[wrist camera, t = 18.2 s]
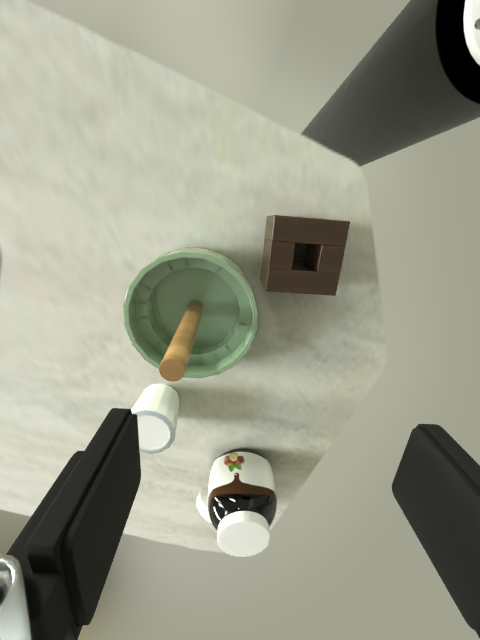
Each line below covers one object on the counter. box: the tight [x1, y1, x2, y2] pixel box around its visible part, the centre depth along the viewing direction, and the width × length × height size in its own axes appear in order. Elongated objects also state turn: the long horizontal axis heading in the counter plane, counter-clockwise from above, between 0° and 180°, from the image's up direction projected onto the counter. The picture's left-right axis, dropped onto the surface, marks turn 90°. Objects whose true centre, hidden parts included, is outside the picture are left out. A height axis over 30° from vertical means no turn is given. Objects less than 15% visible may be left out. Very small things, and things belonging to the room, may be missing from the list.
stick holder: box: [261, 215, 350, 296], centre depth 32 cm, size 8×8×6 cm
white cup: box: [131, 384, 180, 454], centre depth 38 cm, size 7×7×7 cm
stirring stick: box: [159, 301, 203, 381], centre depth 29 cm, size 2×2×16 cm
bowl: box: [123, 247, 258, 378], centre depth 34 cm, size 15×15×6 cm
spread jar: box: [196, 449, 277, 557], centre depth 42 cm, size 12×11×12 cm
